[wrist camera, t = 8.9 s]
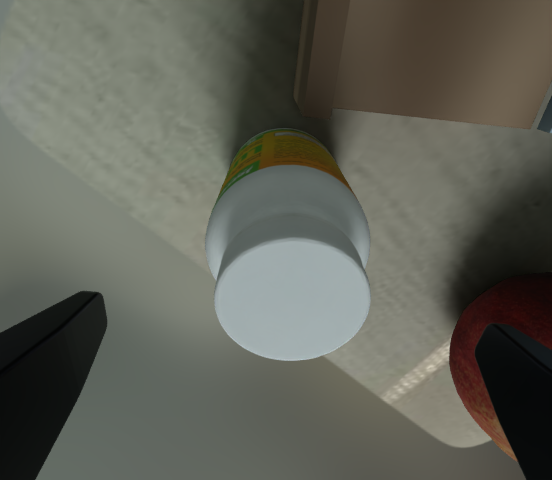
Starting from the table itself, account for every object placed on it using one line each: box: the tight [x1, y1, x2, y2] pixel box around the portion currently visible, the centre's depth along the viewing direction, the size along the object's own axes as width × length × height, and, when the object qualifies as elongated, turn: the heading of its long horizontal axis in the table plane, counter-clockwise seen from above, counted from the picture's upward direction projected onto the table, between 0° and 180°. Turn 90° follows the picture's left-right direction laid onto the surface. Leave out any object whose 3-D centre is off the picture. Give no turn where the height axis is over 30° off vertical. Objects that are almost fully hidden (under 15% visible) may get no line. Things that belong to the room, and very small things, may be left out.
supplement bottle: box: [205, 128, 371, 361], centre depth 13 cm, size 5×5×10 cm
